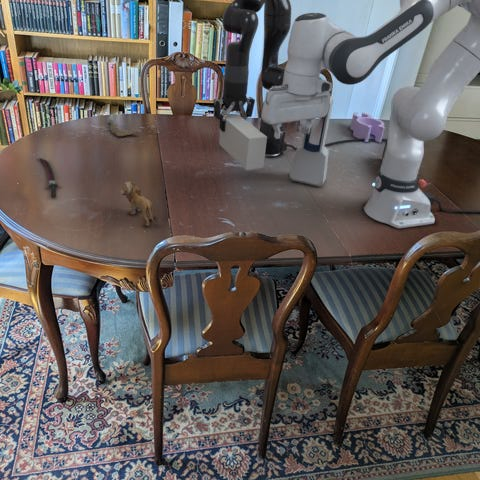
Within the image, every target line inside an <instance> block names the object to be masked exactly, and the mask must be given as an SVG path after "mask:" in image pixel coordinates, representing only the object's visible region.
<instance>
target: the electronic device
mask: <svg viewBox="0 0 480 480" xmlns="http://www.w3.org/2000/svg"><path fill="white" fill-rule="evenodd" d="M334 100H335V98H334V97H332V96H331V95H330V104H329V109H328V113H327V114H326V116H325V117H323V120H322V126H321V132H320V136H319V140H318V144H315V143H311V142H310V139H311V133H312V129H313V126H312V127H311V128H310V133H309V134H305V135H304V134H303V138H302V143H300V144H299V145H298V147H296V148H297V150H295V152H294V156H293V159H292V162H291V166H290V169H289V173H288V178H289V180H290V181H292V182H297V183H301V184H305V185H309V186H314V187H318V188H320V187H321V186H322V185H324V183H325V181H326V179H327V173H328V163H329V162H328V161H329V153H330V150H329V149H328V148H327V146H326V147H324V145H325V144H326V140H327V135H328V130H329V125H330V119H331V114H332V109H333V104H334ZM306 122H307V120H305V123H306Z"/></svg>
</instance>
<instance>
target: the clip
mask: <svg viewBox="0 0 480 480" xmlns="http://www.w3.org/2000/svg"><path fill="white" fill-rule="evenodd" d="M358 114H359V113H358V112H353V114H352V118H351V122H350V126H349V129H350V130H351V131H353V132H352V136H353V137H354V138H355V139H365V140H364V141H363V142H364V143H368V142H369V141H368V140H369V139H370V135H372V136H374V139H375V141H374V142H376V143H382V141H381V140H382V139H383V137H384V132H385V129H386V127H385V122H384V121H383V120H380V119H377V118H374V117H372V115H371V114H369V113H366V112H361V115H358Z"/></svg>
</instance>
